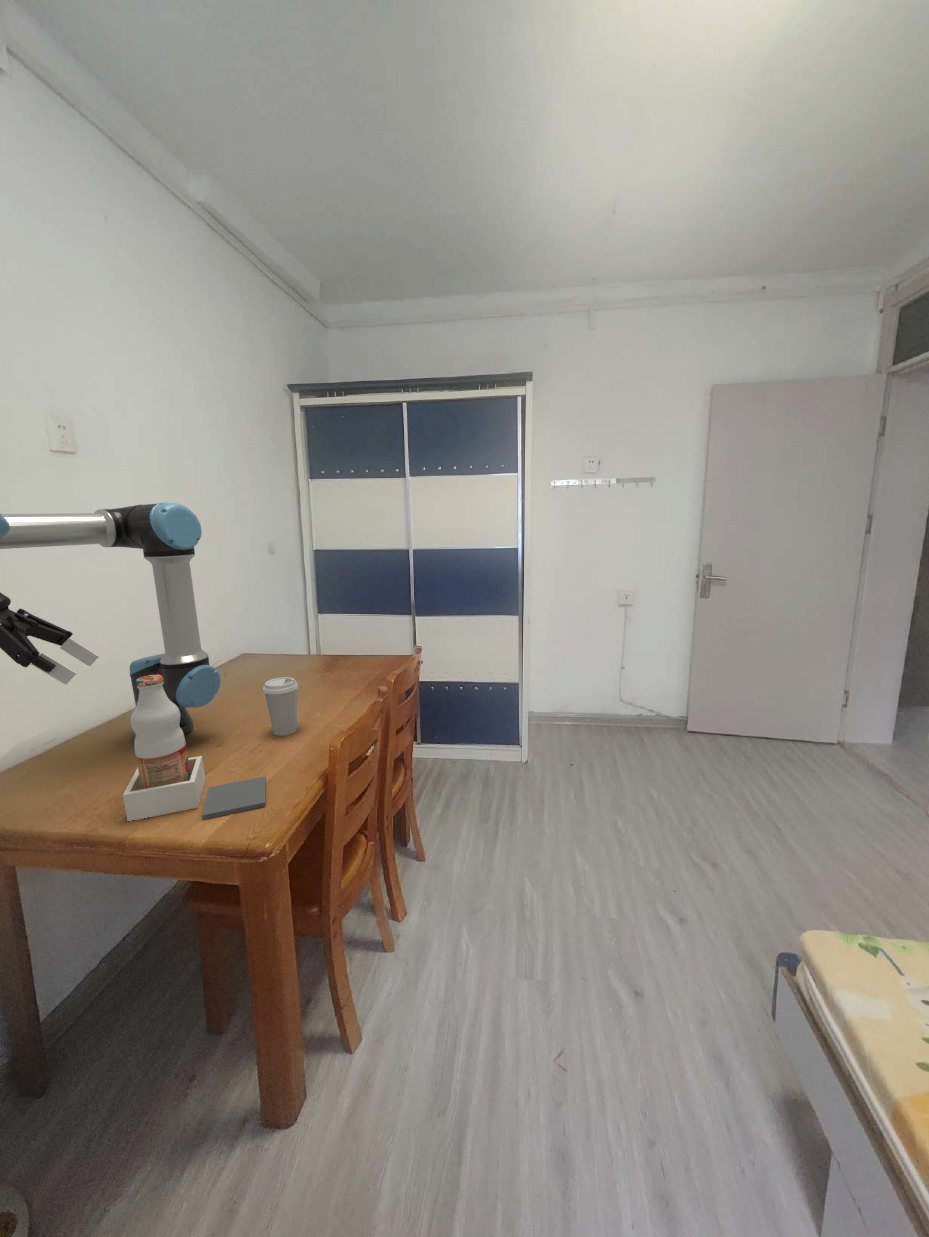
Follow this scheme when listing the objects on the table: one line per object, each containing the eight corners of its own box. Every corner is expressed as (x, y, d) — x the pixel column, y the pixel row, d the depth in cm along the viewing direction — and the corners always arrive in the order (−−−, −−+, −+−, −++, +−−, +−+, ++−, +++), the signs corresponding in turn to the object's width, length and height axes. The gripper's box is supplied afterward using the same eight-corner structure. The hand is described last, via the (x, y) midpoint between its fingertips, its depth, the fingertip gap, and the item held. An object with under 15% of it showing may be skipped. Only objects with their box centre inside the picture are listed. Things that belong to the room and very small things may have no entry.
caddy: (142, 791, 117) (138, 766, 116) (205, 779, 121) (201, 755, 120) (127, 821, 105) (122, 795, 104) (198, 807, 109) (194, 781, 108)
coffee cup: (292, 739, 142) (286, 687, 139) (260, 737, 144) (254, 686, 141) (308, 725, 151) (304, 676, 148) (279, 724, 153) (274, 675, 150)
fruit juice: (134, 805, 111) (112, 682, 105) (175, 784, 119) (156, 669, 114) (163, 815, 107) (141, 687, 101) (202, 792, 115) (184, 673, 110)
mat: (209, 791, 116) (208, 787, 116) (266, 780, 120) (265, 776, 120) (202, 819, 105) (202, 815, 105) (265, 806, 109) (265, 802, 109)
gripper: (-8, 607, 106) (90, 668, 114) (-85, 629, 83) (44, 703, 91) (19, 580, 107) (114, 642, 115) (-51, 594, 84) (75, 671, 92)
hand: (84, 669), depth 103 cm, fingers open, 13 cm apart
